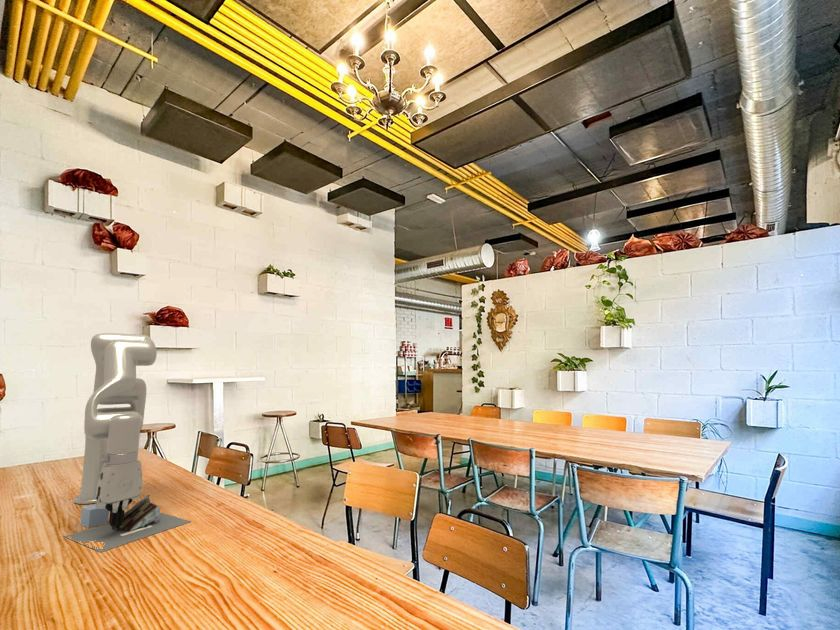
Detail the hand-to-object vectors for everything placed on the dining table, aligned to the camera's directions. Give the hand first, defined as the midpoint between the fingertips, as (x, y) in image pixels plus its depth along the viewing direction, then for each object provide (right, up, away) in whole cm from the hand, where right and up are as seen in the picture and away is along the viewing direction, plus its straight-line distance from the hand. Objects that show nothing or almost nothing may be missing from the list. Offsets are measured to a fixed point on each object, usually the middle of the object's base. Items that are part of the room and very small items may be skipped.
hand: (116, 525), depth 116 cm
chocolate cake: (+3, -3, +5) cm, 7 cm away
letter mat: (+2, -3, +3) cm, 5 cm away
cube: (-12, -3, +7) cm, 14 cm away
